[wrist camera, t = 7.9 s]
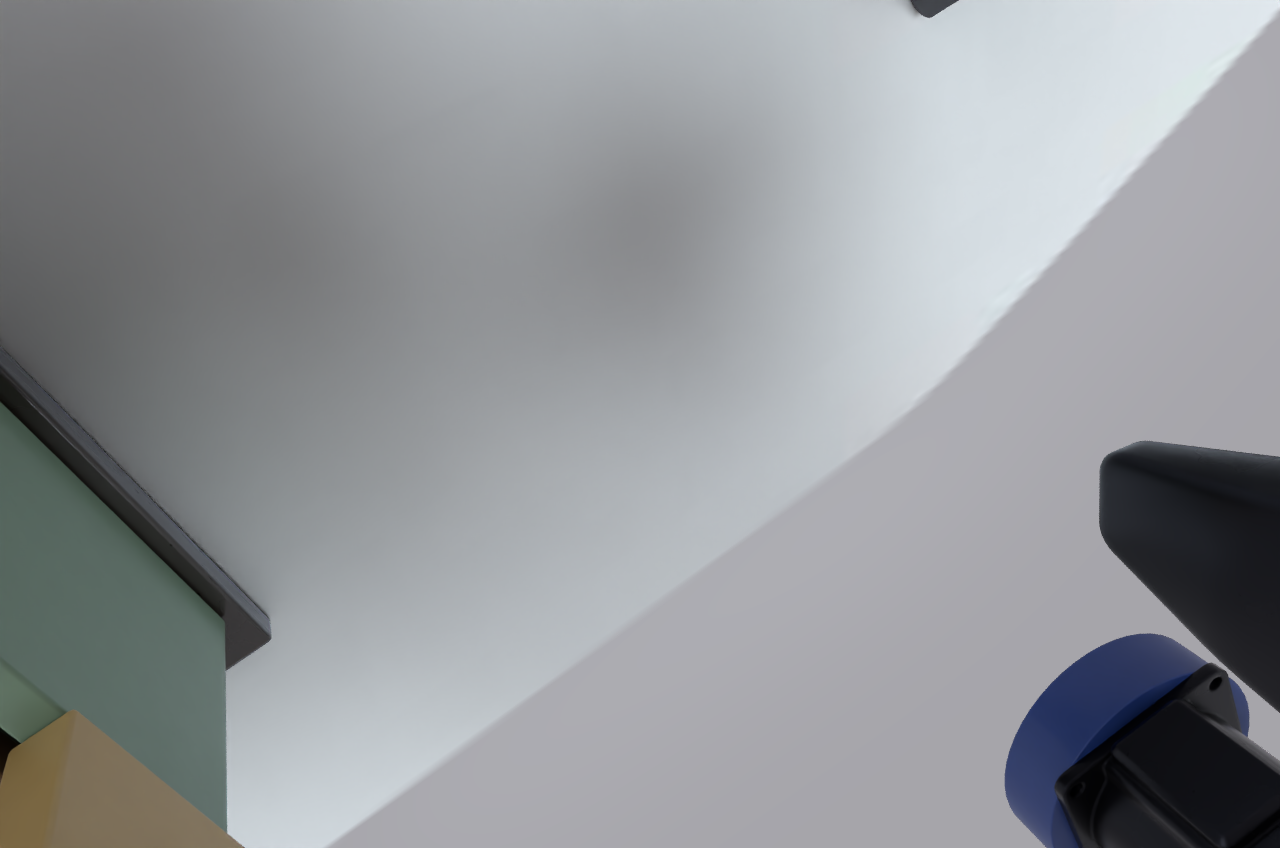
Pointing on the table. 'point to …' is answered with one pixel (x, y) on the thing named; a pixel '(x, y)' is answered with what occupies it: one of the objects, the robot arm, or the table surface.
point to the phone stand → (931, 6)
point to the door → (101, 673)
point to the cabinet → (130, 516)
